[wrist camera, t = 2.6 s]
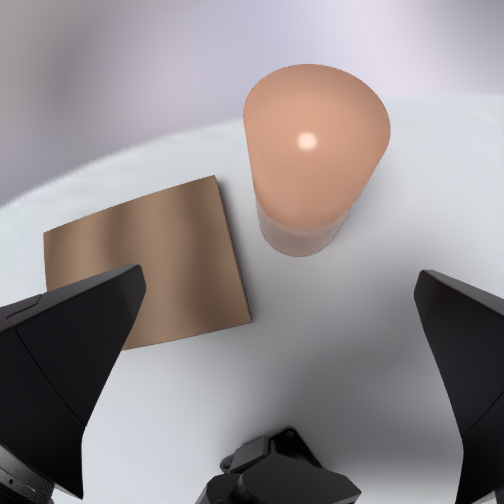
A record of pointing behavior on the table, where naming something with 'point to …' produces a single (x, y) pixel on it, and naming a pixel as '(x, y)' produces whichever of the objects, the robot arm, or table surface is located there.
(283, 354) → the table surface
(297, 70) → the peach cylinder
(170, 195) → the shelf board
